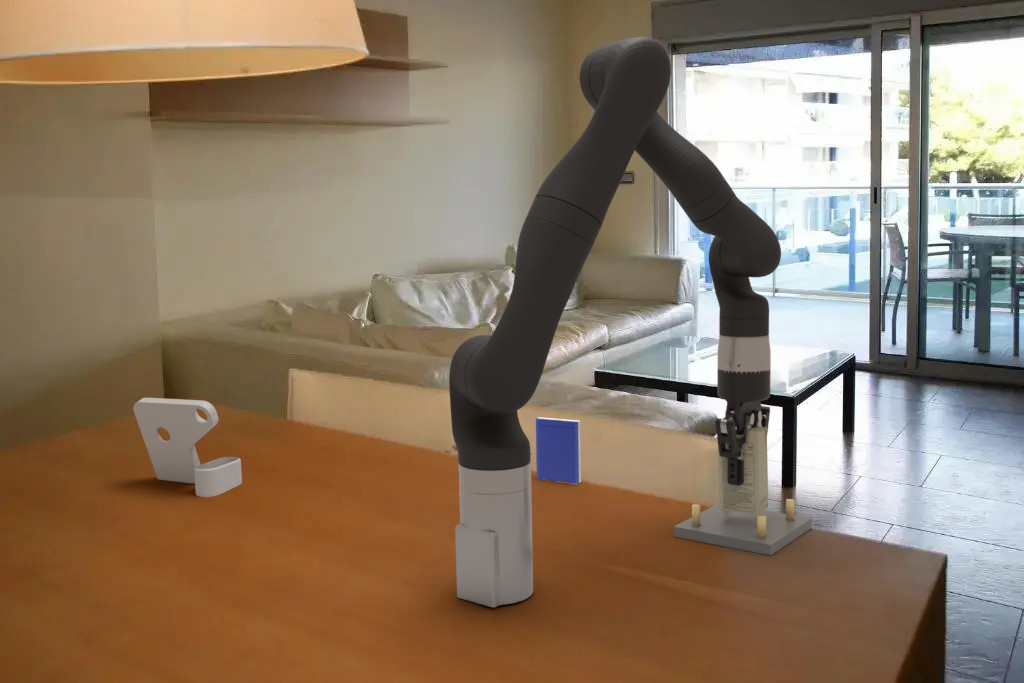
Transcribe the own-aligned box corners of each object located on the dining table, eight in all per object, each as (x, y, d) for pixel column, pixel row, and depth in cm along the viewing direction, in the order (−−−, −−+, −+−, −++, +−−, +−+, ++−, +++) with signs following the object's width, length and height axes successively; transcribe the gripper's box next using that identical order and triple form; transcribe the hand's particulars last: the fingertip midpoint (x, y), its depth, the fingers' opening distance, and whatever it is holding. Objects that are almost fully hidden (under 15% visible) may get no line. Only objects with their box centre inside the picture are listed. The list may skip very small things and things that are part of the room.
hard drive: (578, 492, 168) (577, 422, 166) (536, 487, 172) (534, 418, 170) (581, 490, 169) (580, 420, 168) (540, 485, 173) (538, 416, 172)
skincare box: (769, 508, 143) (769, 426, 142) (759, 515, 140) (760, 432, 138) (727, 502, 147) (727, 423, 145) (717, 509, 143) (717, 428, 142)
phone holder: (250, 492, 173) (244, 392, 171) (213, 507, 163) (207, 402, 161) (171, 485, 179) (165, 389, 177) (131, 499, 169) (124, 398, 167)
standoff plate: (770, 555, 133) (771, 523, 133) (673, 536, 142) (673, 506, 142) (811, 528, 145) (812, 498, 144) (719, 512, 154) (719, 484, 154)
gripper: (747, 374, 133) (746, 495, 135) (788, 361, 144) (786, 474, 146) (697, 370, 138) (697, 487, 139) (741, 358, 149) (740, 467, 151)
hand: (743, 480), depth 143 cm, fingers closed on skincare box, 4 cm apart
